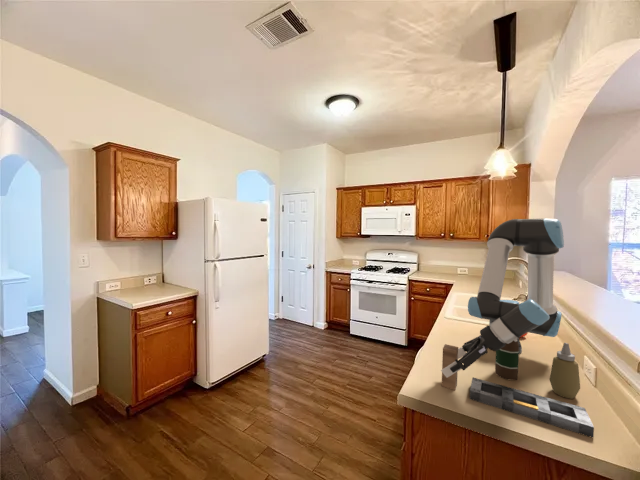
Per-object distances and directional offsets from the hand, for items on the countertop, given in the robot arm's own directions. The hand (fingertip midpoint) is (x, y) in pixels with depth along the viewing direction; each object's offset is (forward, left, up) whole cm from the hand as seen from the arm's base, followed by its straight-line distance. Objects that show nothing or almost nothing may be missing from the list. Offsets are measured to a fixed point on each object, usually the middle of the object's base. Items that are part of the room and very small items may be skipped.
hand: (447, 366), depth 99 cm
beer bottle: (-27, -8, -7) cm, 29 cm away
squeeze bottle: (-39, +4, -7) cm, 40 cm away
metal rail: (-19, +12, -7) cm, 24 cm away
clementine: (-63, -49, -7) cm, 80 cm away
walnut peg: (-1, 0, -7) cm, 7 cm away
